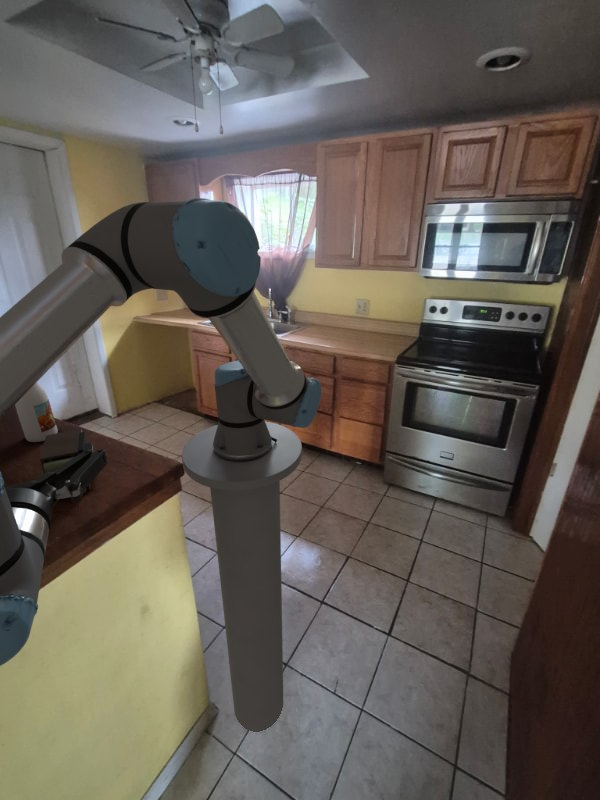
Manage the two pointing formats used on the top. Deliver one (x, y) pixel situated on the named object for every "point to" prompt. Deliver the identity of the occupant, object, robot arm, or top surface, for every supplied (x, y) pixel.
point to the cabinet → (60, 447)
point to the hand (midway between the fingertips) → (36, 447)
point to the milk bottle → (36, 414)
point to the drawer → (57, 464)
